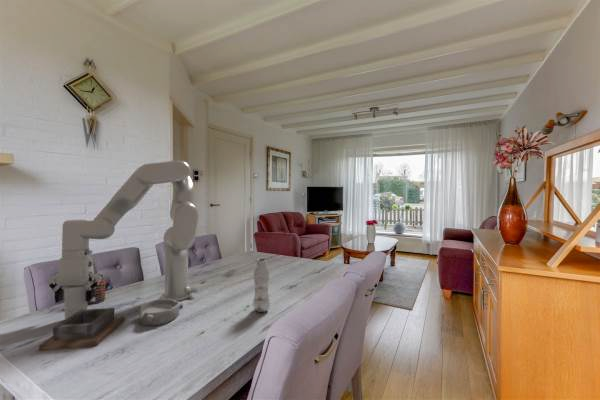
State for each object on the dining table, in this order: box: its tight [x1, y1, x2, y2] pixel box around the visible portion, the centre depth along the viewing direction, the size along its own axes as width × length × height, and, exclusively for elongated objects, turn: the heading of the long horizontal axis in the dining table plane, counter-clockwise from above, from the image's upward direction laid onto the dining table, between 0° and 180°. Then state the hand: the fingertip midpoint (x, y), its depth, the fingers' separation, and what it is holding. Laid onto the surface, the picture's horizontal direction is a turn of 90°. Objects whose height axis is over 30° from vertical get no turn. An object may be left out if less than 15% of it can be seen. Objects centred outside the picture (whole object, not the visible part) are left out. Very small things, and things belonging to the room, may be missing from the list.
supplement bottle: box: [87, 273, 106, 304], centre depth 114 cm, size 6×6×11 cm
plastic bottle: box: [252, 258, 271, 313], centre depth 105 cm, size 6×7×20 cm
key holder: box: [38, 307, 125, 351], centre depth 87 cm, size 15×17×6 cm
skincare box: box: [63, 285, 88, 320], centre depth 98 cm, size 6×4×12 cm
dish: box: [138, 298, 184, 326], centre depth 99 cm, size 14×14×5 cm
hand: (74, 300), depth 98 cm, fingers open, 9 cm apart
